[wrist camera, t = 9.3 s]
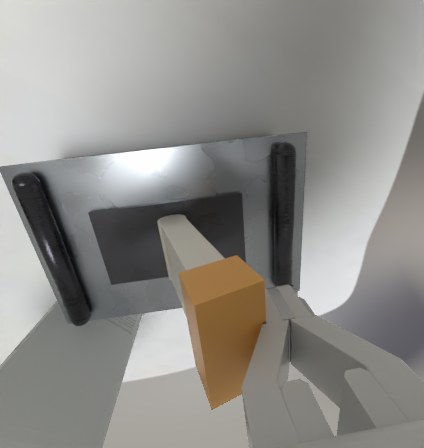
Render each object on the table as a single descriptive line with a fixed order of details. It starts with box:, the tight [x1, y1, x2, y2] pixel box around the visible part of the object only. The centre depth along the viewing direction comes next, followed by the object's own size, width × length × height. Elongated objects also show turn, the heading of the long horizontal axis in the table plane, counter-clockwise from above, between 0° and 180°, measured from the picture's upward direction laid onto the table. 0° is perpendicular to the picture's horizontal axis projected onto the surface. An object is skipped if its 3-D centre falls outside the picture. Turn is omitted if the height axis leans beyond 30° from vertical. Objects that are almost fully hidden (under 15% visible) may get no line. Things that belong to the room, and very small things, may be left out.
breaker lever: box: [157, 214, 266, 410], centre depth 10 cm, size 4×2×8 cm, turn 6°
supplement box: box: [0, 301, 142, 448], centre depth 17 cm, size 7×7×13 cm
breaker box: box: [0, 132, 307, 326], centre depth 16 cm, size 11×17×7 cm, turn 96°
